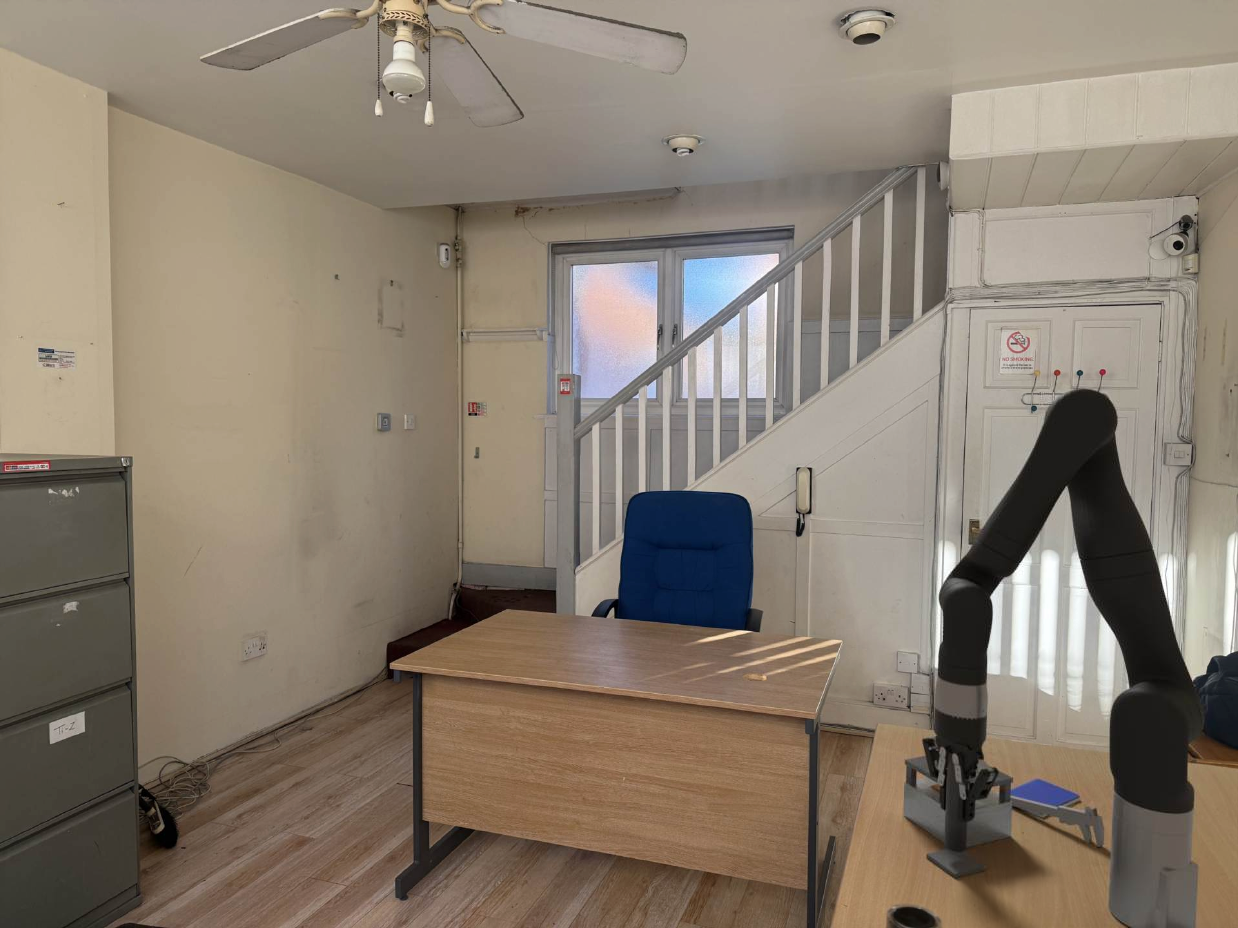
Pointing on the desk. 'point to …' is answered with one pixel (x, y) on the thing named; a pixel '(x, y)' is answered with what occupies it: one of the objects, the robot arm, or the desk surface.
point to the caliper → (1068, 817)
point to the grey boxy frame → (928, 814)
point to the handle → (954, 812)
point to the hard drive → (1044, 794)
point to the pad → (955, 862)
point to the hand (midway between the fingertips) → (956, 814)
